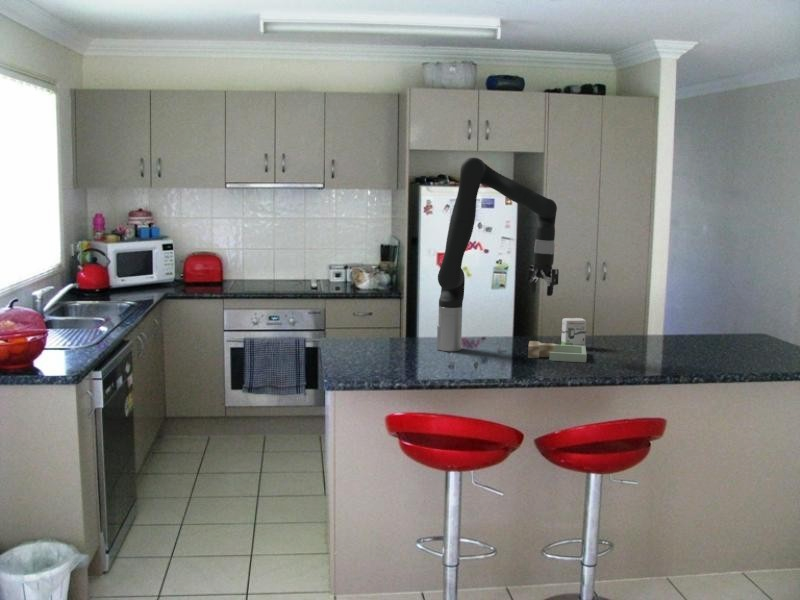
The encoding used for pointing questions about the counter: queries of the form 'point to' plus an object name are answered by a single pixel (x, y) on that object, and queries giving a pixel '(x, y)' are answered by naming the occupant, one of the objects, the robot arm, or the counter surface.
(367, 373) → the counter surface
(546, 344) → the t block
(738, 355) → the counter surface
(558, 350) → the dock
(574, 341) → the ink box
